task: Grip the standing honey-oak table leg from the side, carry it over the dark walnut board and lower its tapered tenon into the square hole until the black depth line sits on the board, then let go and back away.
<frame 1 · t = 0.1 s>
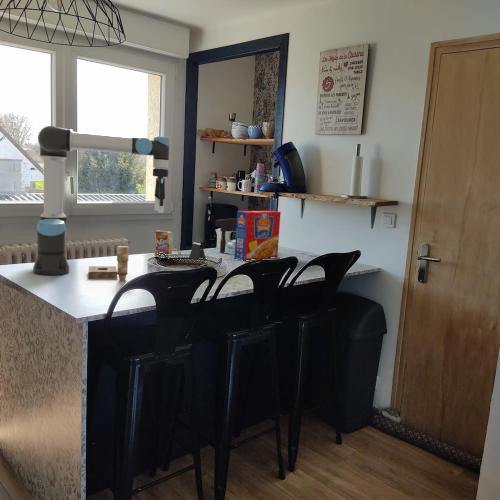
hand: (158, 211, 244), 28 cm above the countertop, tool pointing down, fingers open, 13 cm apart
door stopper: (197, 266, 257), on the countertop
leg: (122, 280, 213), on the countertop
candy box: (163, 258, 271), on the countertop
board: (102, 275, 220), on the countertop
pasta box: (256, 259, 289), on the countertop
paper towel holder: (234, 251, 310), on the countertop
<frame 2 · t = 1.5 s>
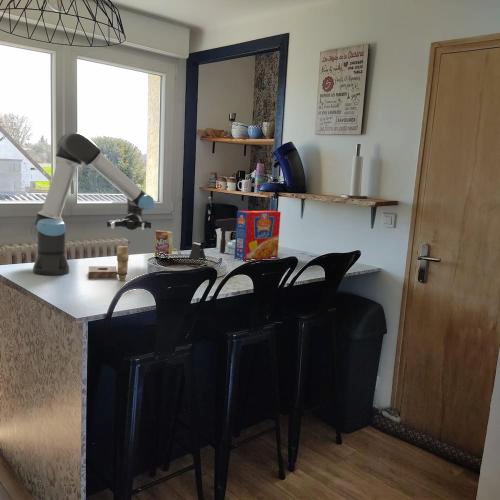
hand: (127, 226, 221), 22 cm above the countertop, tool horizontal, fingers open, 13 cm apart
nothing on the countertop moved.
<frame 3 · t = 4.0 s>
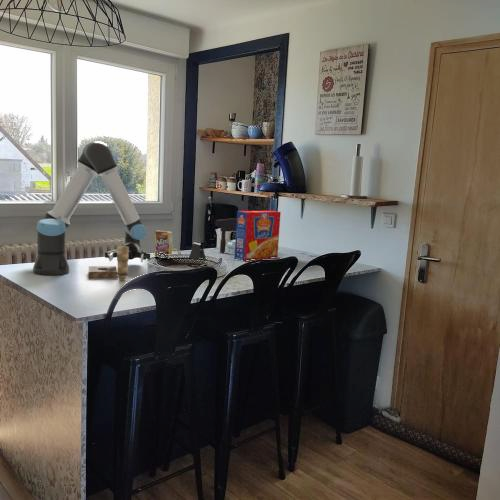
hand: (126, 258, 217), 9 cm above the countertop, tool horizontal, fingers open, 13 cm apart
nothing on the countertop moved.
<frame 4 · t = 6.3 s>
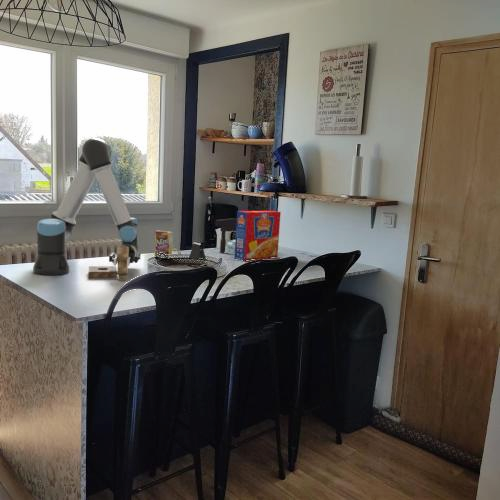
hand: (121, 262, 207), 9 cm above the countertop, tool horizontal, fingers closed on leg, 5 cm apart
leg: (122, 280, 213), on the countertop, touching gripper
everything else where it was.
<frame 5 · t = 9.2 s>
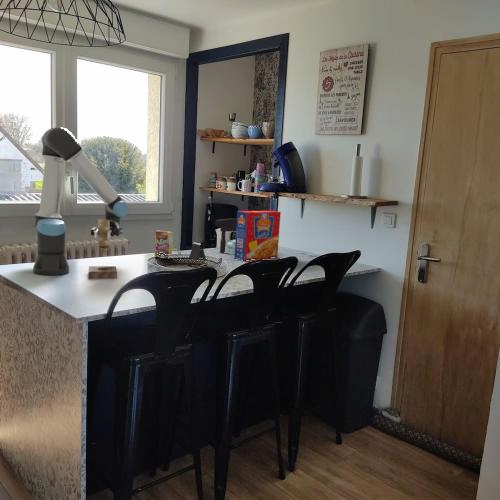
hand: (101, 235, 212), 19 cm above the countertop, tool horizontal, fingers closed on leg, 5 cm apart
leg: (103, 253, 219), point 10 cm above the countertop, touching gripper
everything else where it was.
when the fingers open (9 cm above the countertop, at t = 12.3 s): leg stays where it is, resting on board.
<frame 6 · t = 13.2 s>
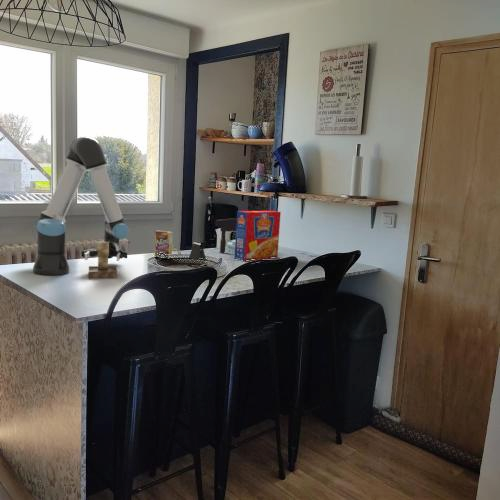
hand: (101, 257, 216), 9 cm above the countertop, tool horizontal, fingers open, 13 cm apart
leg: (102, 275, 220), resting on board
everything else where it was.
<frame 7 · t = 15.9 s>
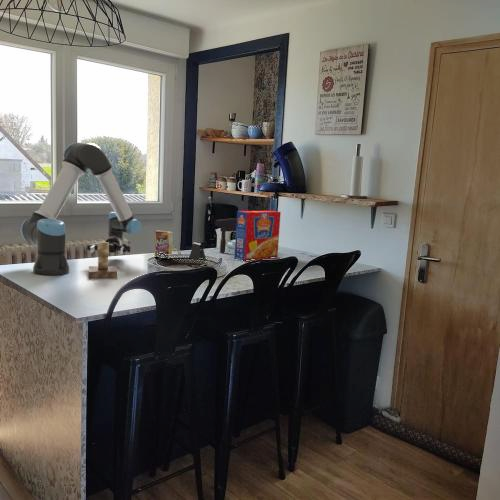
hand: (106, 251, 228), 10 cm above the countertop, tool horizontal, fingers open, 13 cm apart
nothing on the countertop moved.
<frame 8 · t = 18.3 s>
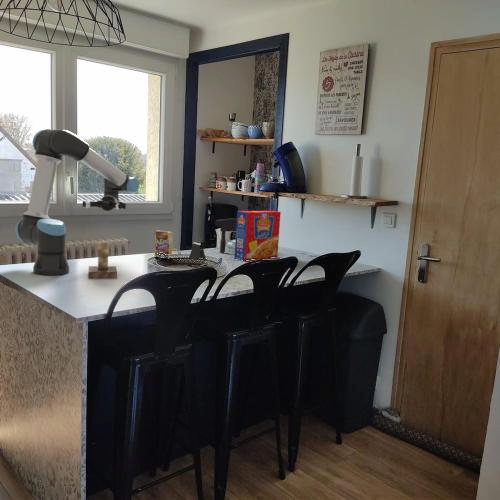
hand: (101, 206, 229), 30 cm above the countertop, tool horizontal, fingers open, 13 cm apart
nothing on the countertop moved.
at the end: leg 0.1 cm off-centre on the board, point 0.2 cm above the board's base; leg tilted 0°; the gripper is holding nothing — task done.
